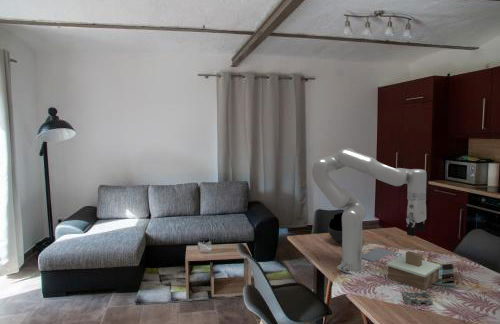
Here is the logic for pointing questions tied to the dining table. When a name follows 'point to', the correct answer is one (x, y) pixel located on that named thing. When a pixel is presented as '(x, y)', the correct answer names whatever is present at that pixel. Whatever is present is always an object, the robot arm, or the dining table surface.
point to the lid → (414, 264)
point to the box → (413, 278)
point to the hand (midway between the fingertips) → (415, 233)
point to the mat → (377, 254)
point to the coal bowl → (336, 228)
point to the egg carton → (419, 294)
